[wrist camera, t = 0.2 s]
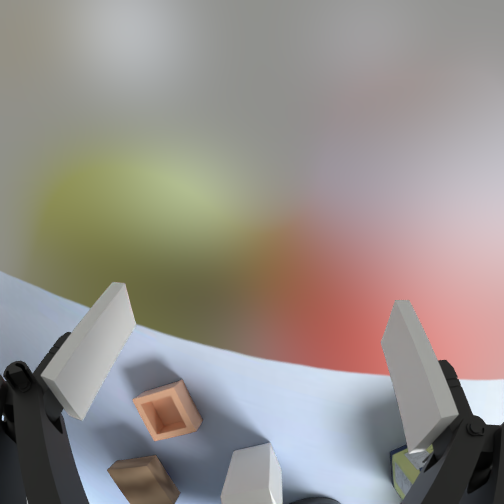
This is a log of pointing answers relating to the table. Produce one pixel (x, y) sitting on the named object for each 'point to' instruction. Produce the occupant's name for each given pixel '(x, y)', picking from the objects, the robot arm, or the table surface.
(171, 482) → the brown box
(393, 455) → the protein box
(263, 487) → the milk carton
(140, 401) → the open square box
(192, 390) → the table surface
